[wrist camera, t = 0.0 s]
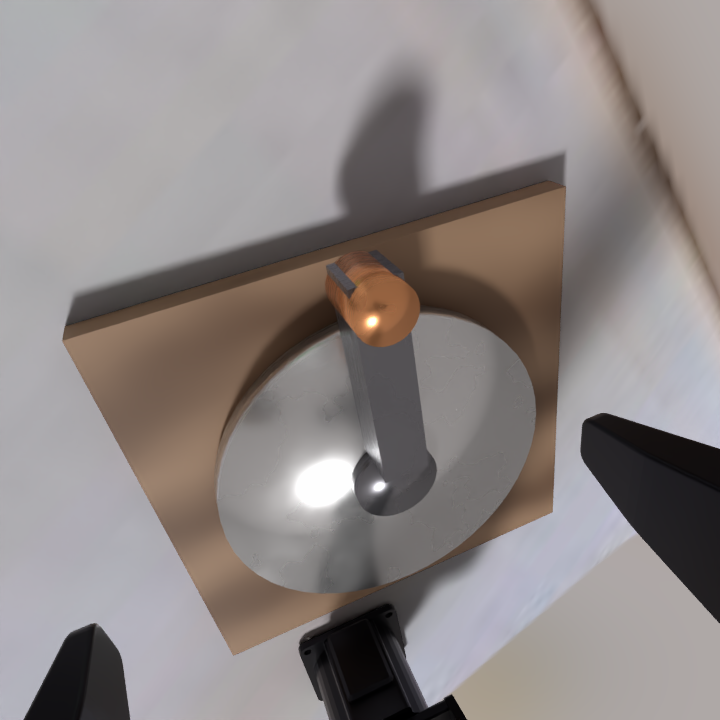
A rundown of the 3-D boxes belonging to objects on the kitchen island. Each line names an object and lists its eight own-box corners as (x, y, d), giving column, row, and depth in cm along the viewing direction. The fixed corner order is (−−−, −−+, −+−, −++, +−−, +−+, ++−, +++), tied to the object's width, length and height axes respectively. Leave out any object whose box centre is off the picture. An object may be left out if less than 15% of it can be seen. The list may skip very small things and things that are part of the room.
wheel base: (541, 499, 37) (552, 512, 36) (230, 636, 32) (233, 655, 31) (548, 180, 25) (565, 186, 24) (64, 326, 21) (62, 340, 20)
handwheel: (522, 504, 33) (568, 558, 30) (266, 617, 30) (285, 691, 27) (521, 187, 23) (591, 214, 19) (126, 306, 19) (128, 364, 16)
